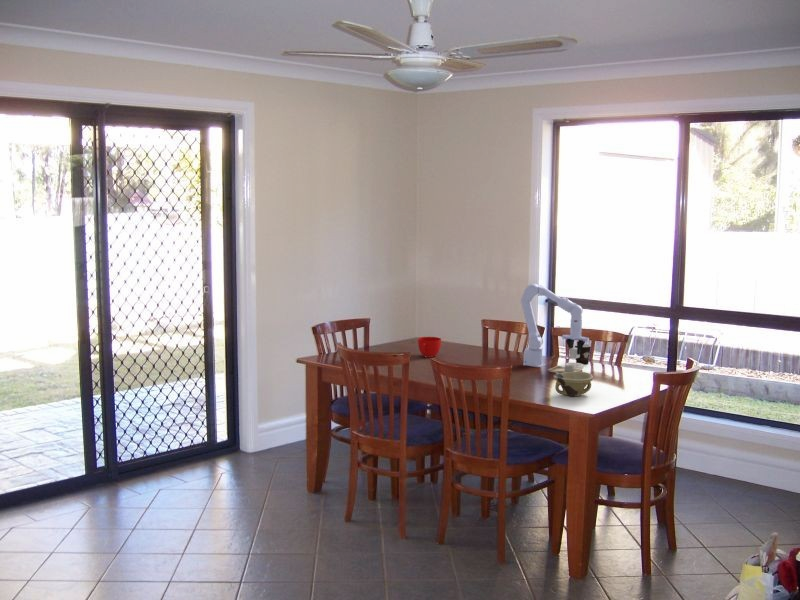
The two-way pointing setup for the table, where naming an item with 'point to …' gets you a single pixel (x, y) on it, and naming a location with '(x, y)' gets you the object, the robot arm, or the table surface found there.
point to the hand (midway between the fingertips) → (575, 353)
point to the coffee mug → (584, 354)
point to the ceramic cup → (429, 345)
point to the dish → (576, 365)
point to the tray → (561, 369)
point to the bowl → (573, 383)
